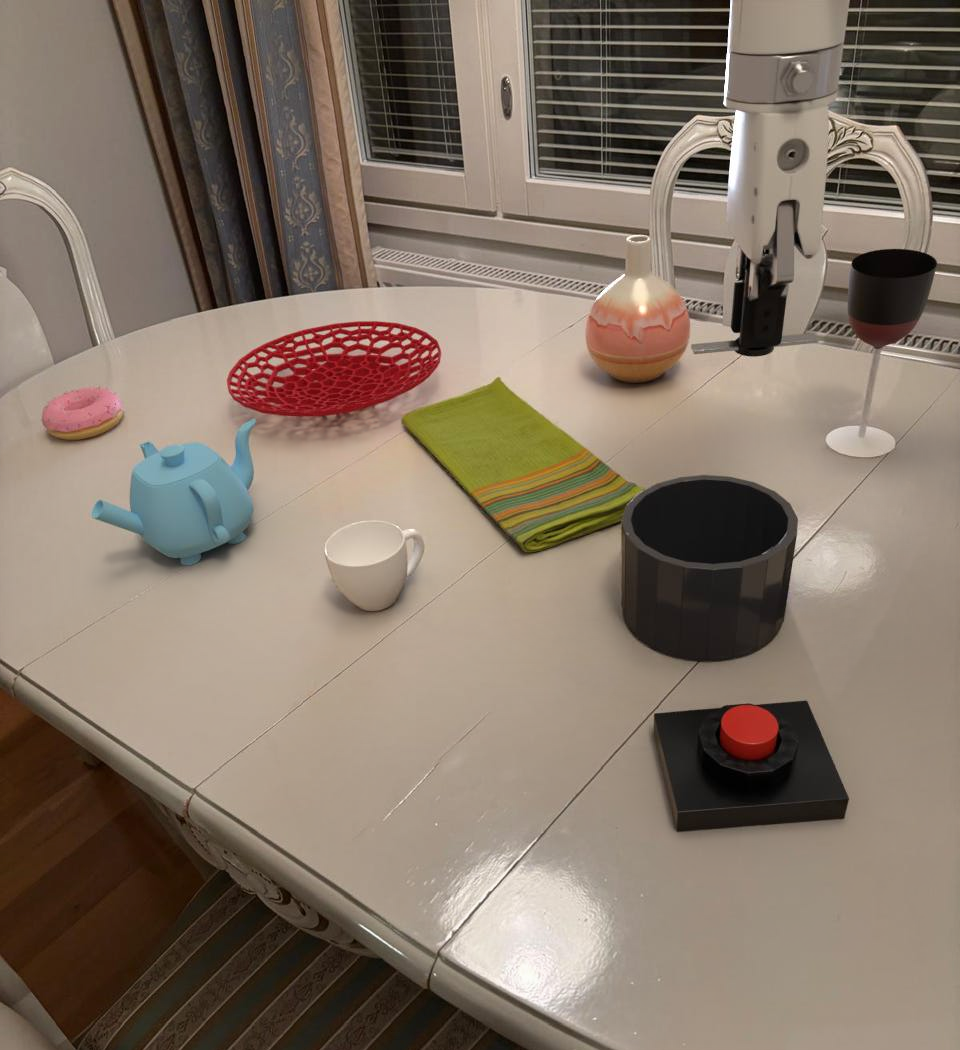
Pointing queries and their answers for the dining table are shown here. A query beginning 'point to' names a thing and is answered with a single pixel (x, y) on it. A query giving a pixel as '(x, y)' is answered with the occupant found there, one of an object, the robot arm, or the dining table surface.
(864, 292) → the wineglass
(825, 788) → the base unit
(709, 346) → the blade
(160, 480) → the teapot
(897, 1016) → the dining table surface
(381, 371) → the bowl
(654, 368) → the vase
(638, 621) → the dark grey round bin
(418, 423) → the dish towel
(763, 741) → the button
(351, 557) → the cup
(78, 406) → the doughnut
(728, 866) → the dining table surface
